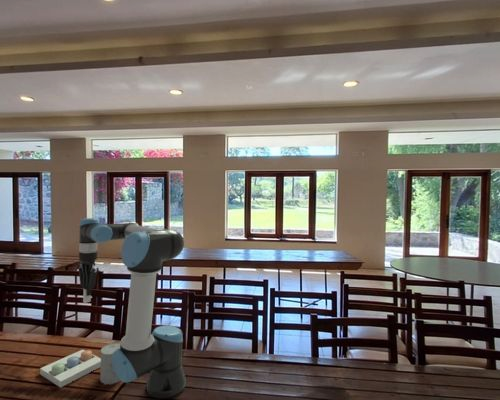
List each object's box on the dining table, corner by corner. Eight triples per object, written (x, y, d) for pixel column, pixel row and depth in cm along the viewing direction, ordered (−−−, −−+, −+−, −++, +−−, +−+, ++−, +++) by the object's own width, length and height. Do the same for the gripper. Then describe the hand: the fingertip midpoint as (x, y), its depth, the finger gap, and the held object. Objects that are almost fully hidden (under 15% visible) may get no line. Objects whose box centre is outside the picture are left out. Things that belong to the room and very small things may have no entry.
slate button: (80, 368, 127) (80, 358, 127) (70, 373, 123) (70, 363, 123) (74, 365, 129) (75, 355, 129) (64, 370, 125) (64, 359, 125)
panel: (103, 365, 130) (103, 359, 130) (60, 387, 114) (60, 381, 114) (82, 354, 138) (82, 349, 138) (40, 374, 122) (40, 368, 122)
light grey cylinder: (129, 371, 126) (130, 343, 126) (117, 385, 116) (118, 355, 116) (108, 369, 127) (109, 341, 127) (94, 383, 117) (95, 353, 117)
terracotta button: (93, 361, 132) (94, 352, 132) (84, 366, 128) (84, 356, 128) (88, 358, 134) (88, 349, 134) (78, 363, 130) (78, 353, 130)
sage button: (66, 375, 121) (66, 364, 121) (55, 381, 118) (55, 370, 118) (60, 372, 124) (60, 361, 124) (49, 377, 120) (49, 366, 120)
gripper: (104, 252, 134) (103, 302, 134) (88, 248, 141) (86, 296, 141) (88, 254, 128) (87, 307, 128) (72, 250, 134) (70, 301, 134)
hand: (87, 301), depth 134 cm, fingers closed
